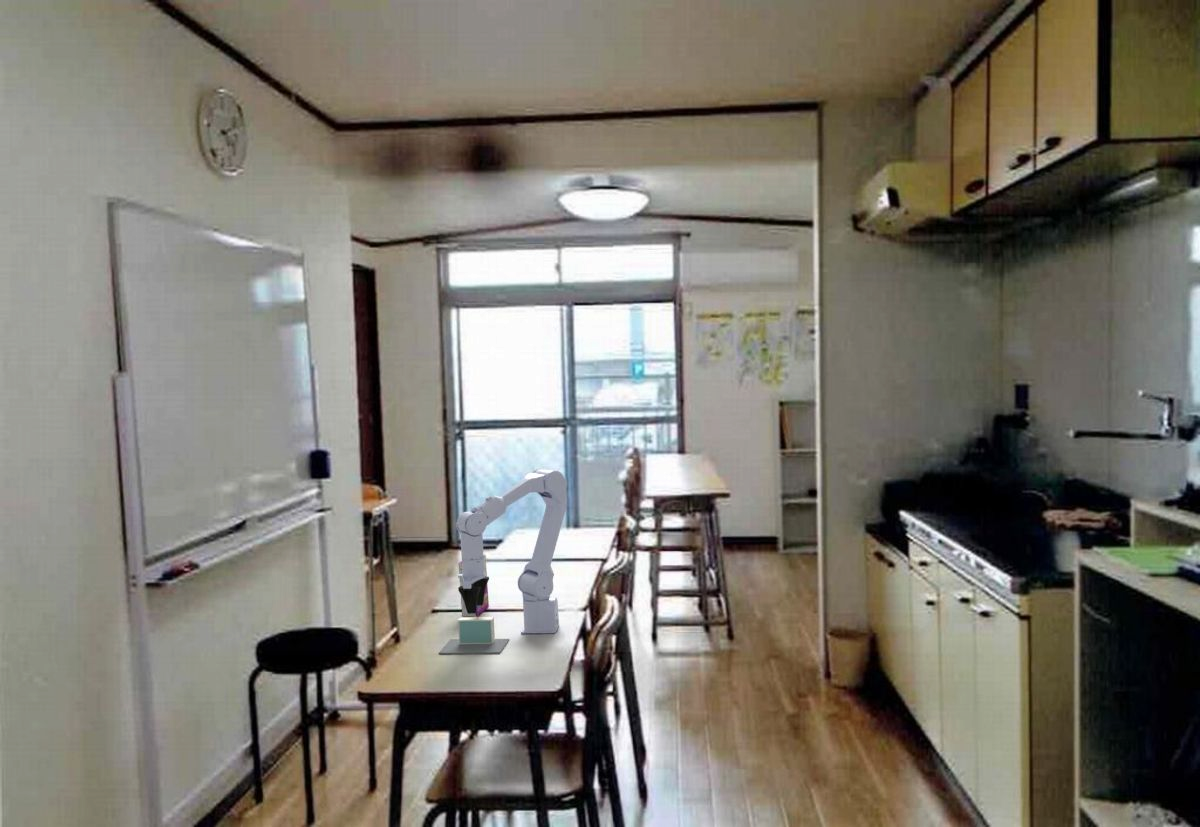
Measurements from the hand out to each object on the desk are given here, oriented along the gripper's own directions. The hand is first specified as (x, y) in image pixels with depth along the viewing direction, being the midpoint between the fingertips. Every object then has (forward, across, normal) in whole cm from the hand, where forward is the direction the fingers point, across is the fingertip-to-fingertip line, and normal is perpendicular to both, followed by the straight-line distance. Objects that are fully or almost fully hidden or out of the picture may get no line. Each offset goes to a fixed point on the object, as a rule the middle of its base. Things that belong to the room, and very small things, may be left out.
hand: (475, 609), depth 231 cm
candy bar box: (+10, -30, -8) cm, 32 cm away
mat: (+9, +2, 0) cm, 10 cm away
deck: (+9, 0, 0) cm, 9 cm away
